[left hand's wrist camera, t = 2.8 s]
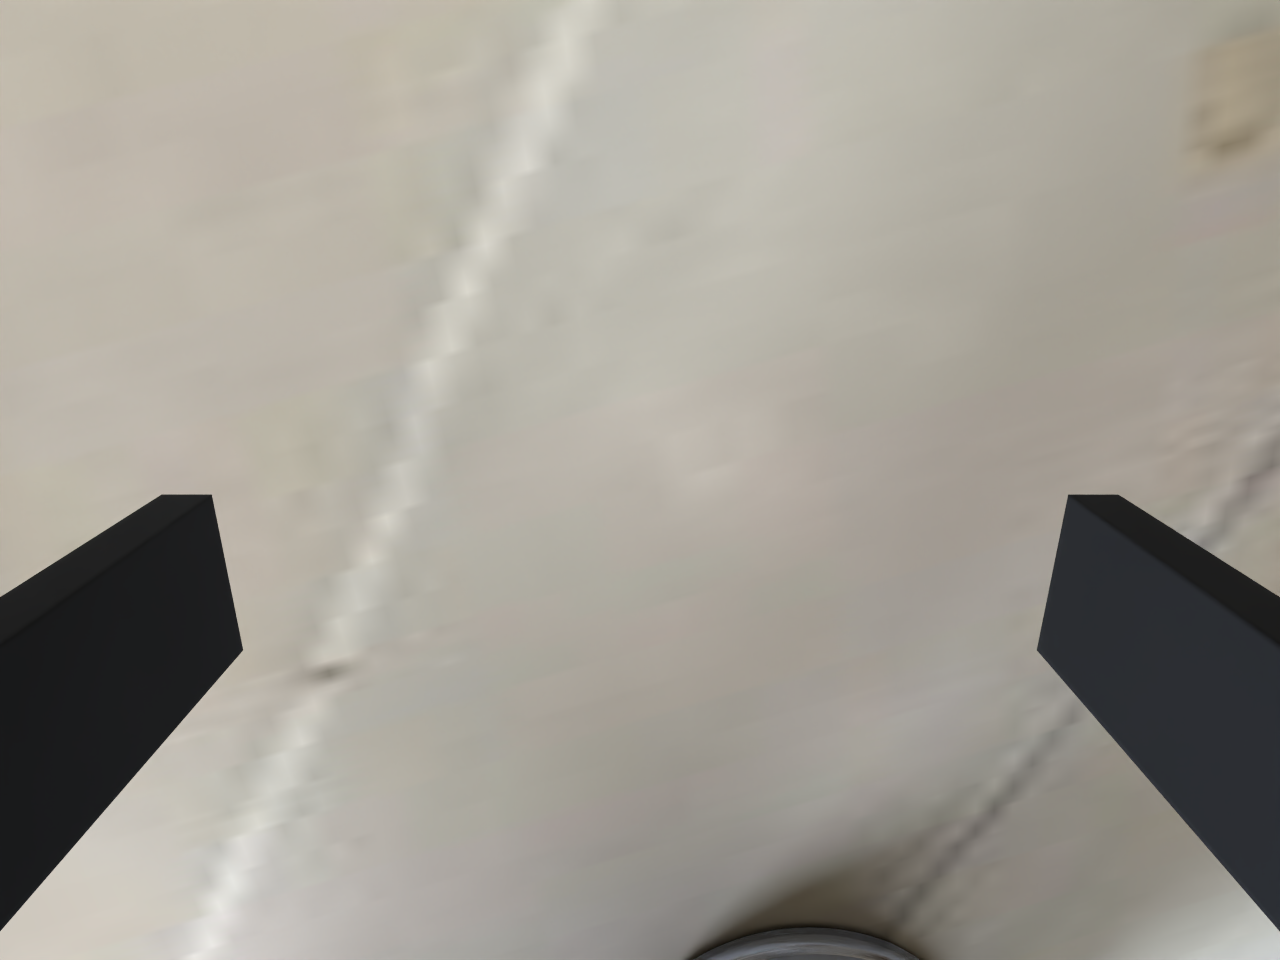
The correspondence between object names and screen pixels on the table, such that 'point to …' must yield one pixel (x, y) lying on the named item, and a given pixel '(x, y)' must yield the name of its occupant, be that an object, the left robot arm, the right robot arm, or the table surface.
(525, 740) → the table surface
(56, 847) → the left robot arm
